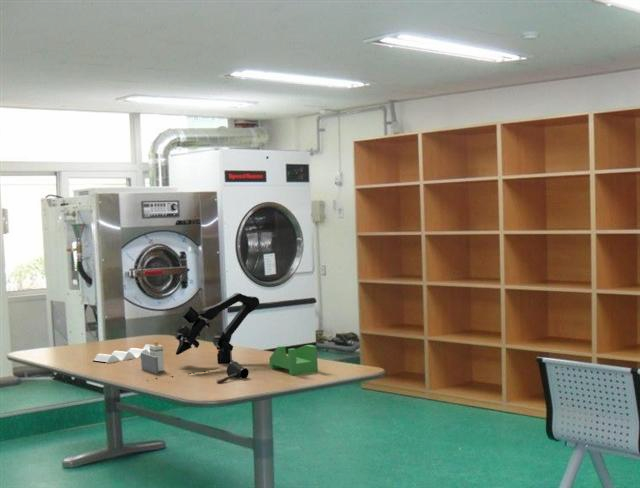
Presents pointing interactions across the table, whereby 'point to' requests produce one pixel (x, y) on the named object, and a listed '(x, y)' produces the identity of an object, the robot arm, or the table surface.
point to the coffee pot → (235, 372)
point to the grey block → (150, 363)
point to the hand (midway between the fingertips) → (176, 354)
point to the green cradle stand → (295, 359)
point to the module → (157, 354)
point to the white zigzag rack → (122, 355)
